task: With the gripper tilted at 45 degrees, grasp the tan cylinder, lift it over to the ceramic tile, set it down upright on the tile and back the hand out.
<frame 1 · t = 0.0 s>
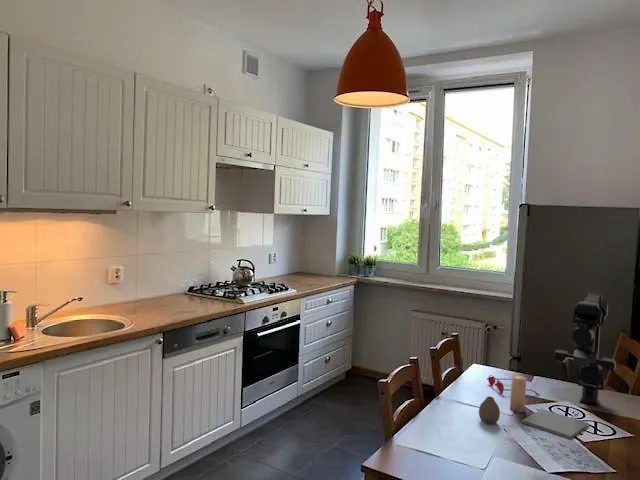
hand: (582, 384, 176), 15 cm above the table, tool pointing down, fingers open, 9 cm apart
tan cylinder: (517, 409, 190), on the table
vase: (488, 423, 177), on the table
glasses: (512, 390, 212), on the table
tile: (555, 424, 177), on the table
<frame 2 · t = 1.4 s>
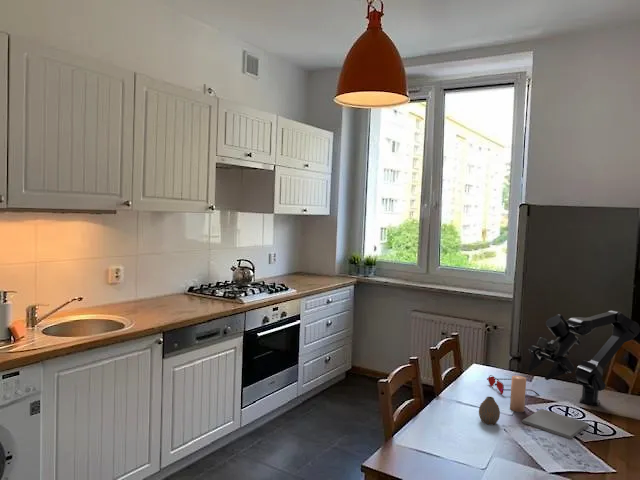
hand: (536, 375, 191), 12 cm above the table, tool tilted 45°, fingers open, 9 cm apart
nothing on the table moved.
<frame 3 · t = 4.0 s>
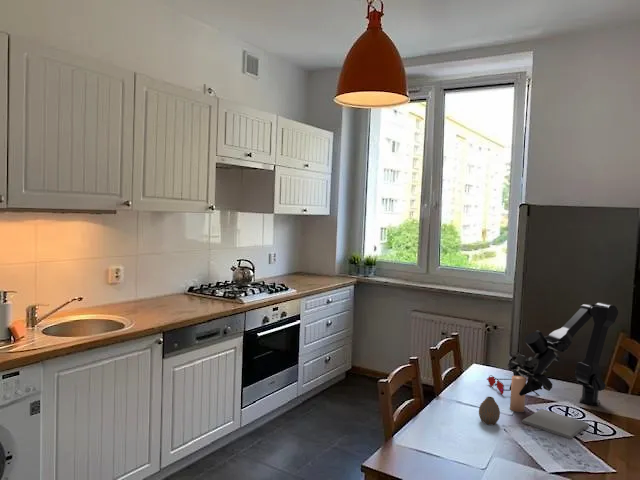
hand: (515, 392, 189), 7 cm above the table, tool tilted 45°, fingers closed on tan cylinder, 5 cm apart
tan cylinder: (517, 409, 190), on the table, touching gripper
everything else where it was.
when the fingers open (9 cm above the table, at t = 8.6 s): tan cylinder drops 1 cm, resting on tile.
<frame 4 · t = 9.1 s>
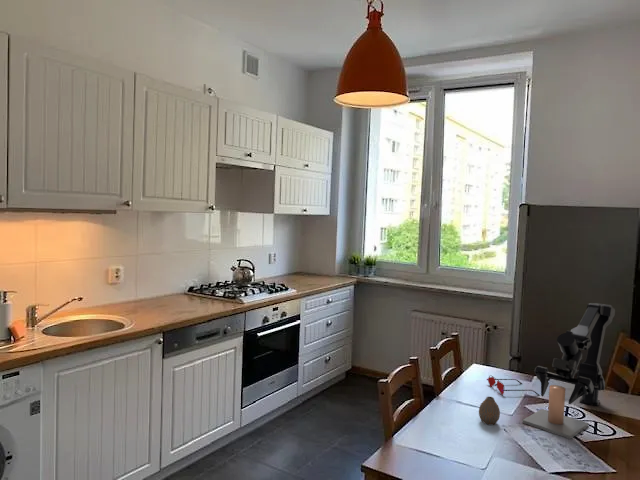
hand: (555, 399, 176), 9 cm above the table, tool tilted 45°, fingers open, 9 cm apart
tan cylinder: (555, 421, 177), point 1 cm above the table, touching tile
everything else where it was.
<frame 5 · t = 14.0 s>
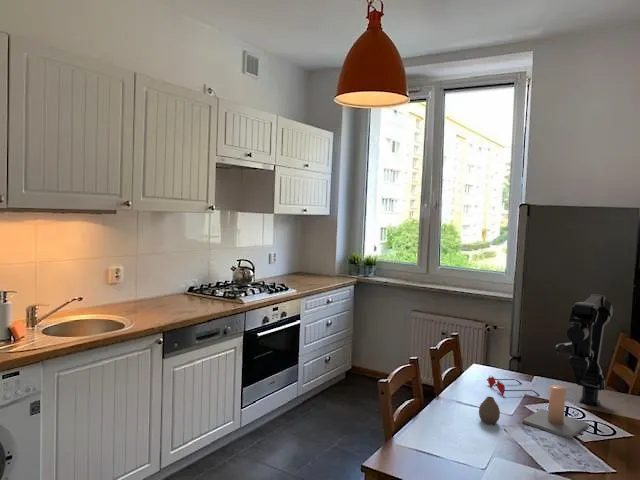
hand: (579, 380, 186), 13 cm above the table, tool pointing down, fingers open, 9 cm apart
nothing on the table moved.
at the end: tan cylinder inside the target area on the tile (0.1 cm from its centre), point 1.0 cm above the tile's base; tan cylinder tilted 0°; the gripper is holding nothing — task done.
